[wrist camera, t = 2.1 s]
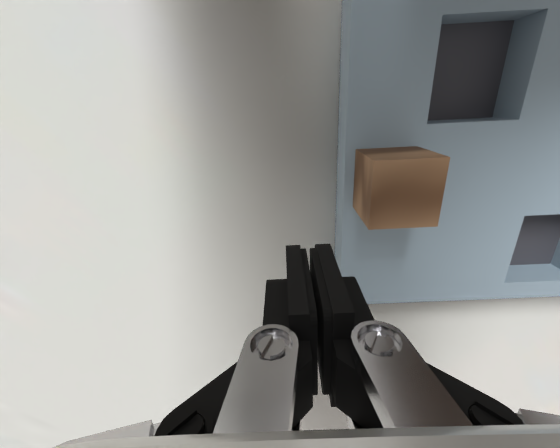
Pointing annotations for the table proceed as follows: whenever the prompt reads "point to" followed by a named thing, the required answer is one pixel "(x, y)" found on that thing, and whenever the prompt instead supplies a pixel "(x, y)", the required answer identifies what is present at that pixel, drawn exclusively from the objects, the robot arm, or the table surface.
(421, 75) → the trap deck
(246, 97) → the table surface
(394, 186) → the walnut cube
